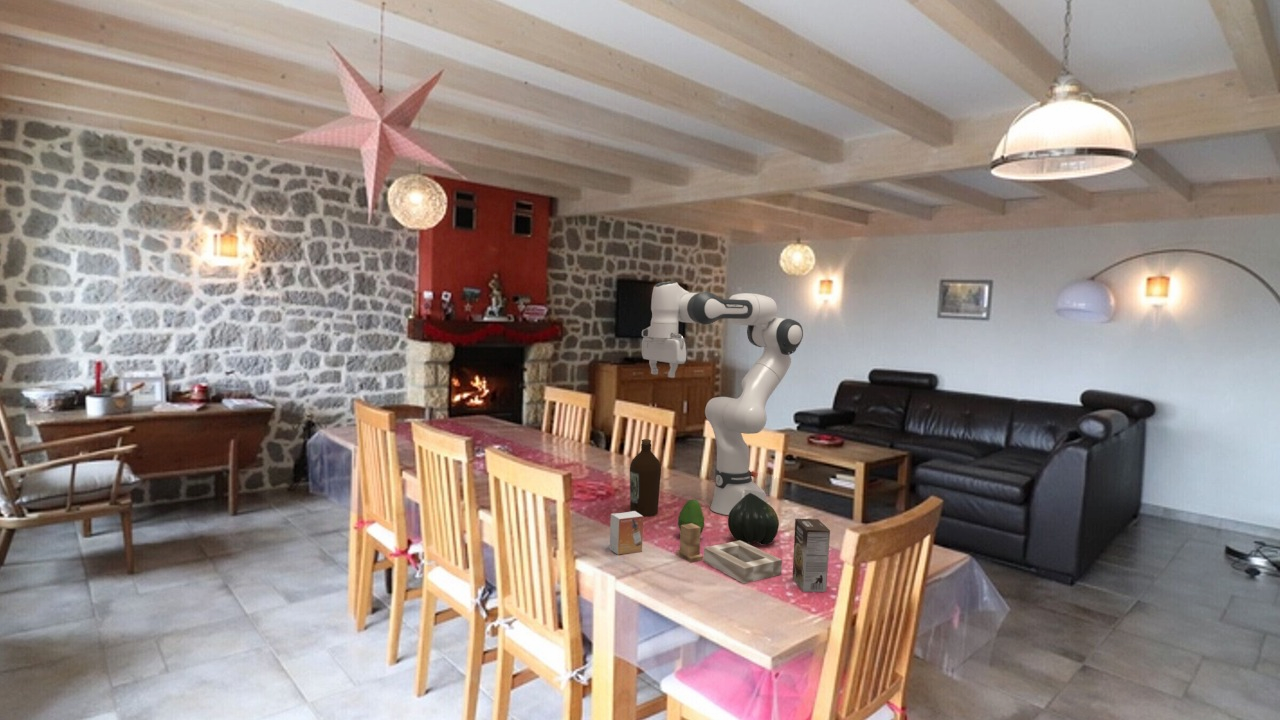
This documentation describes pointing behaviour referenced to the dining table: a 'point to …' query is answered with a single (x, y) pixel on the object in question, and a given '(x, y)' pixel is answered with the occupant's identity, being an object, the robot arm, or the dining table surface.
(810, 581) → the coffee box
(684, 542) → the tan wooden block
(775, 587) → the dining table surface
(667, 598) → the dining table surface
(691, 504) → the avocado
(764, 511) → the squash
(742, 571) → the rectangular frame
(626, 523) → the small box
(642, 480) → the olive oil
